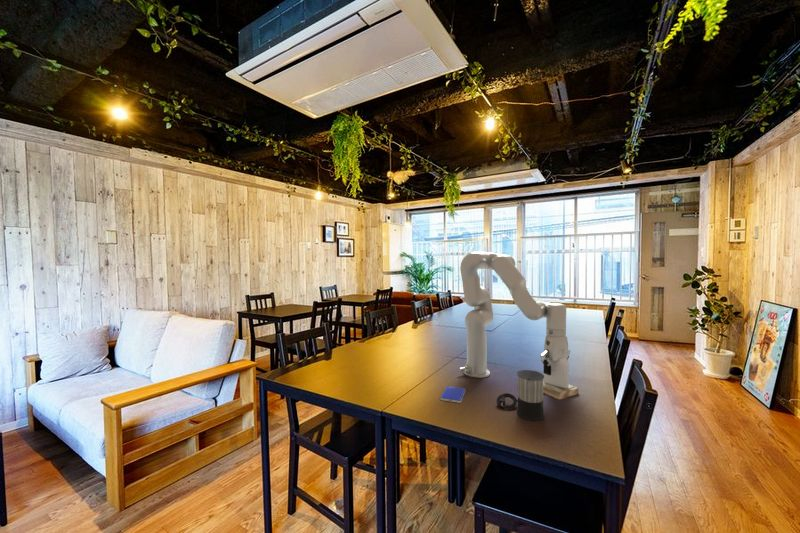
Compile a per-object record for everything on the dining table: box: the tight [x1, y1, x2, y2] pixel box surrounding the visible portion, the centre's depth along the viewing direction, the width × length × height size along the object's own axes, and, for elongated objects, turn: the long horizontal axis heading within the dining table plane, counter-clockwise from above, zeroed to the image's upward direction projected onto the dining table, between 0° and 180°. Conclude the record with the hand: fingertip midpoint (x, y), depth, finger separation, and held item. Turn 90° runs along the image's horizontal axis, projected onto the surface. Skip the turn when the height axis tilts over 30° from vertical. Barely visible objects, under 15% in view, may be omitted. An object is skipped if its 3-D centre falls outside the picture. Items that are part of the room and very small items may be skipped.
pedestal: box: [543, 382, 579, 400], centre depth 135 cm, size 12×12×3 cm
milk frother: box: [496, 369, 545, 421], centre depth 118 cm, size 14×16×15 cm
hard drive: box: [439, 385, 467, 404], centre depth 132 cm, size 2×8×12 cm
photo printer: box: [542, 357, 570, 388], centre depth 135 cm, size 10×4×12 cm, turn 37°
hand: (555, 372), depth 135 cm, fingers open, 9 cm apart
